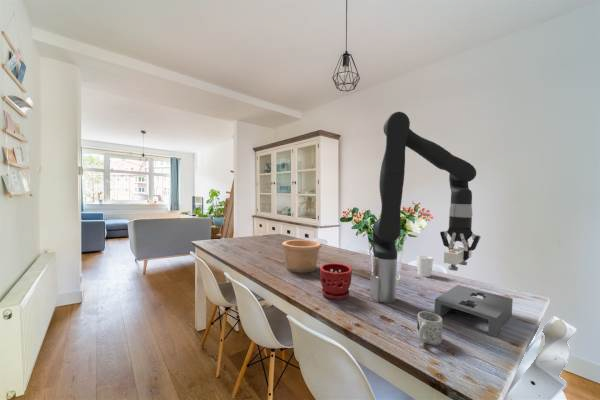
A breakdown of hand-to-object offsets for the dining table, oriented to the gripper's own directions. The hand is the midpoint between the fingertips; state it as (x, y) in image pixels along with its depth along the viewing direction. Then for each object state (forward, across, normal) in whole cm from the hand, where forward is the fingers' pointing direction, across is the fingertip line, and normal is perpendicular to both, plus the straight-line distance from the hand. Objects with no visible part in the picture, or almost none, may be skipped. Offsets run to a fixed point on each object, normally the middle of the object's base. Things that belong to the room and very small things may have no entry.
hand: (458, 258), depth 101 cm
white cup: (+19, -24, +31) cm, 43 cm away
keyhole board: (+19, +7, -4) cm, 20 cm away
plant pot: (+19, -37, -30) cm, 51 cm away
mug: (+19, +2, -35) cm, 40 cm away
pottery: (+19, -74, -15) cm, 78 cm away
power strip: (+3, 0, 0) cm, 3 cm away
